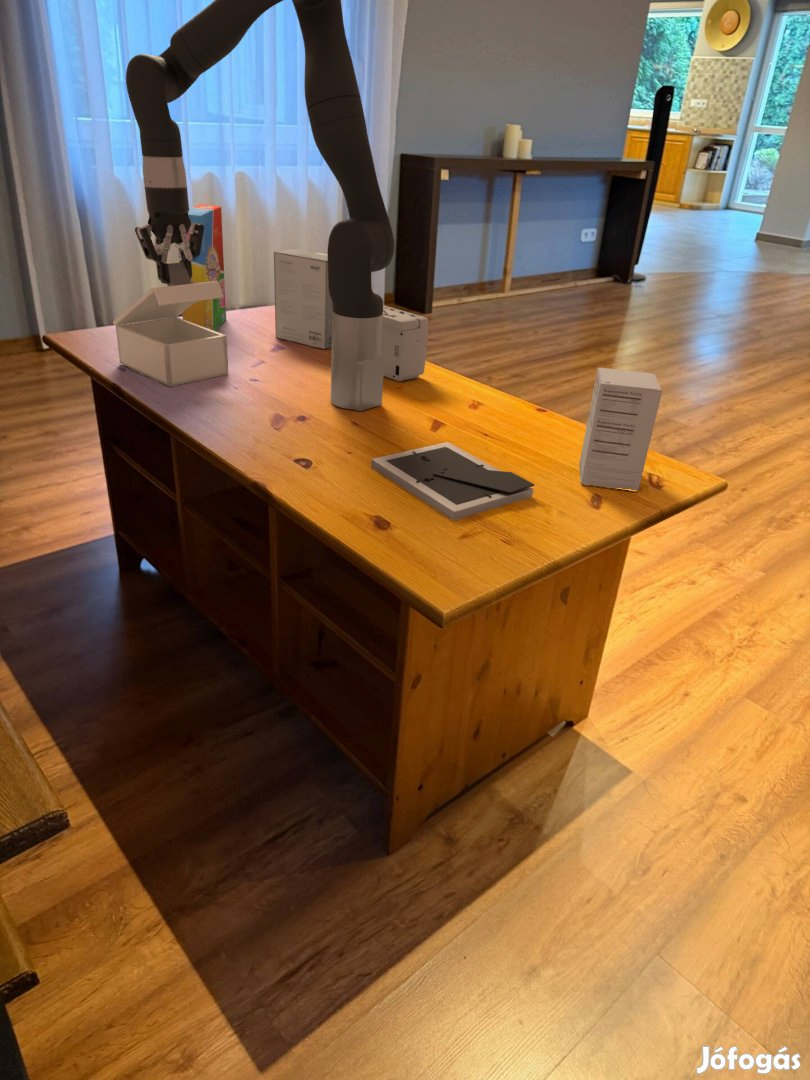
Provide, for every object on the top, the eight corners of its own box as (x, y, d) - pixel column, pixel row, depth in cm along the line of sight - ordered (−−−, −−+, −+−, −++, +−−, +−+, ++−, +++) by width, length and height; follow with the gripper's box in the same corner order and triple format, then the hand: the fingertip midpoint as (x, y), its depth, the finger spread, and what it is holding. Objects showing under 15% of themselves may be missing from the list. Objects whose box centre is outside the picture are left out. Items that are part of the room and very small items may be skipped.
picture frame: (531, 501, 117) (446, 453, 131) (534, 484, 115) (448, 437, 130) (452, 524, 108) (370, 470, 122) (454, 507, 107) (371, 454, 121)
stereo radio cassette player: (425, 378, 165) (434, 282, 155) (399, 385, 159) (406, 286, 149) (359, 355, 177) (362, 265, 167) (332, 360, 171) (334, 268, 161)
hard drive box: (344, 344, 183) (347, 257, 174) (325, 350, 178) (326, 261, 168) (294, 331, 190) (293, 247, 180) (273, 337, 184) (272, 250, 175)
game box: (206, 341, 178) (199, 215, 165) (183, 339, 178) (173, 213, 164) (226, 319, 196) (221, 205, 183) (205, 318, 196) (198, 203, 183)
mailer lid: (224, 296, 150) (210, 257, 149) (159, 305, 141) (143, 263, 140) (181, 328, 164) (168, 292, 163) (119, 338, 155) (104, 299, 154)
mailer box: (228, 374, 158) (226, 335, 154) (169, 387, 148) (165, 346, 144) (178, 353, 168) (175, 316, 164) (120, 364, 158) (115, 325, 154)
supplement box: (639, 493, 120) (664, 390, 112) (579, 486, 121) (600, 383, 113) (633, 469, 128) (656, 372, 120) (578, 462, 129) (597, 365, 121)
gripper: (141, 186, 132) (154, 288, 140) (210, 184, 142) (218, 280, 150) (119, 184, 137) (132, 283, 145) (187, 182, 146) (196, 275, 154)
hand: (176, 281), depth 147 cm, fingers closed on mailer lid, 4 cm apart
